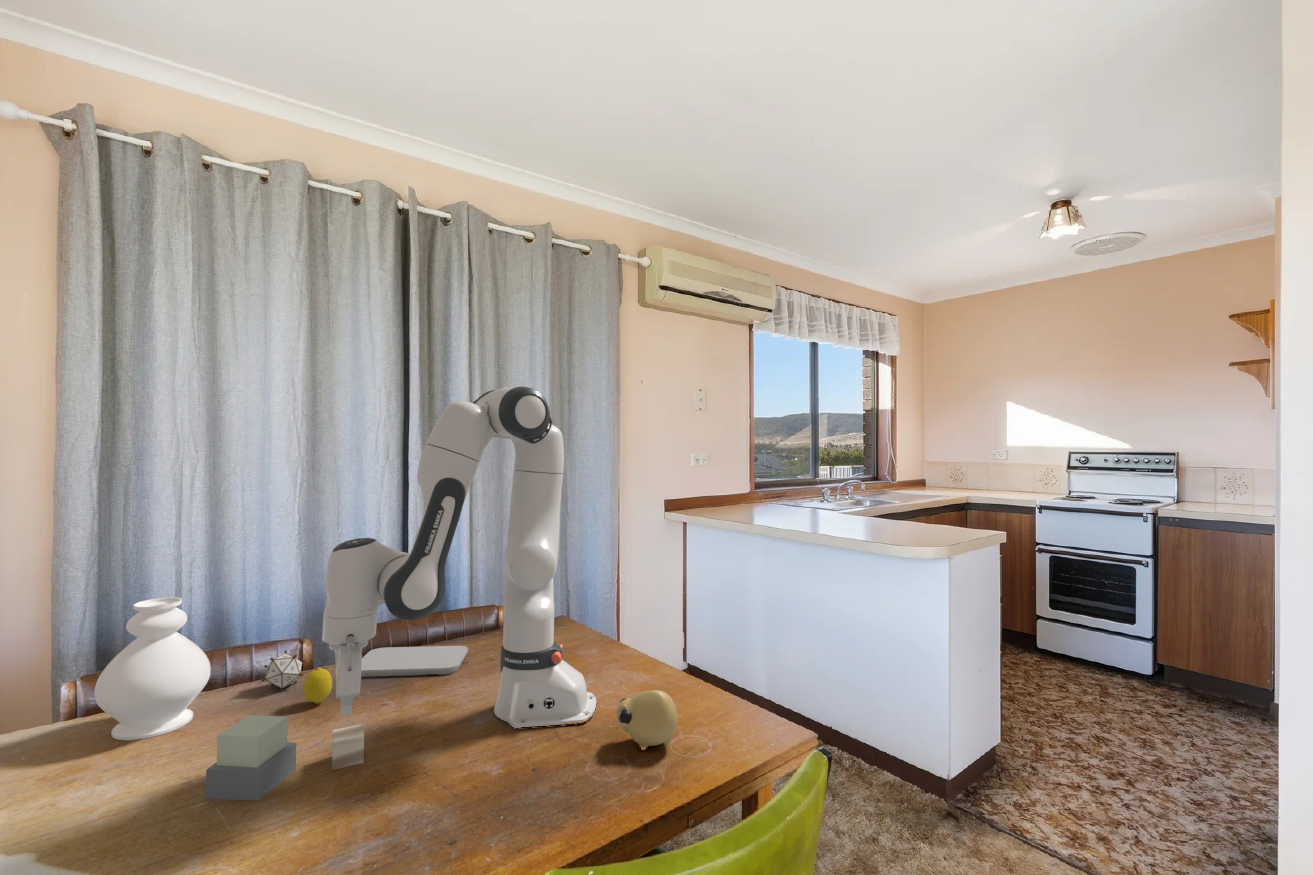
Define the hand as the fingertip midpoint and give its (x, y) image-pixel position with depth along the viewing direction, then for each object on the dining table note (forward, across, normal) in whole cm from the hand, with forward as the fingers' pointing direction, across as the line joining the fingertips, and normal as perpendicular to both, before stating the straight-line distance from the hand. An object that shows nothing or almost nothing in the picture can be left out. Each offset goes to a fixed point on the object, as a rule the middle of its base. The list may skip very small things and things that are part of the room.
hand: (345, 703), depth 105 cm
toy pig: (+9, -21, -52) cm, 57 cm away
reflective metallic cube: (+11, 0, -1) cm, 11 cm away
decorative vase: (+12, +32, +33) cm, 48 cm away
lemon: (+11, +28, +4) cm, 31 cm away
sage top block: (+6, -1, +14) cm, 15 cm away
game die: (+11, +42, +12) cm, 45 cm away
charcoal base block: (+11, -1, +13) cm, 17 cm away
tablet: (+11, +44, -17) cm, 48 cm away
